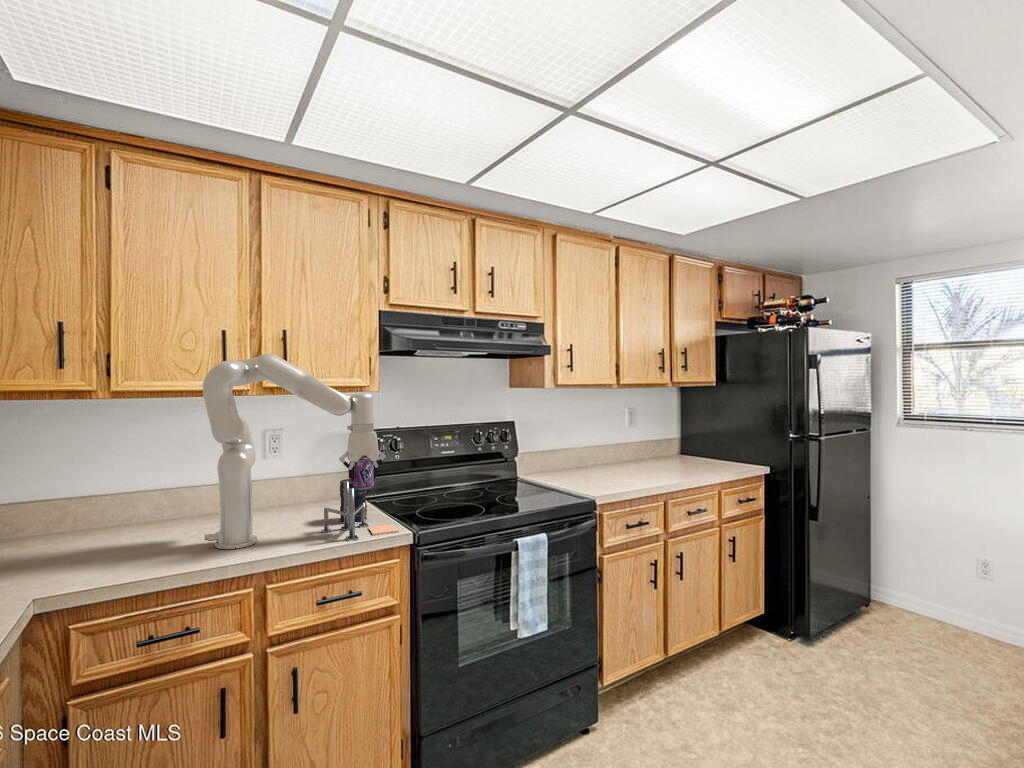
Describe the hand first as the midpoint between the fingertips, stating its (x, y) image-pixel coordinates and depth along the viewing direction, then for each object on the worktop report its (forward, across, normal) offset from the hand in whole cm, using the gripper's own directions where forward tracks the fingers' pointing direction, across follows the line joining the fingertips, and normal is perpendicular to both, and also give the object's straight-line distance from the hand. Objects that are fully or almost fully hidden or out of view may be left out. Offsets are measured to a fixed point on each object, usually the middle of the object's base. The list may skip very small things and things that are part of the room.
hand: (363, 479), depth 186 cm
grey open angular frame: (+19, -5, 0) cm, 19 cm away
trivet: (+19, +7, -1) cm, 20 cm away
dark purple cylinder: (+19, -1, +18) cm, 26 cm away
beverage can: (+3, 0, 0) cm, 3 cm away
